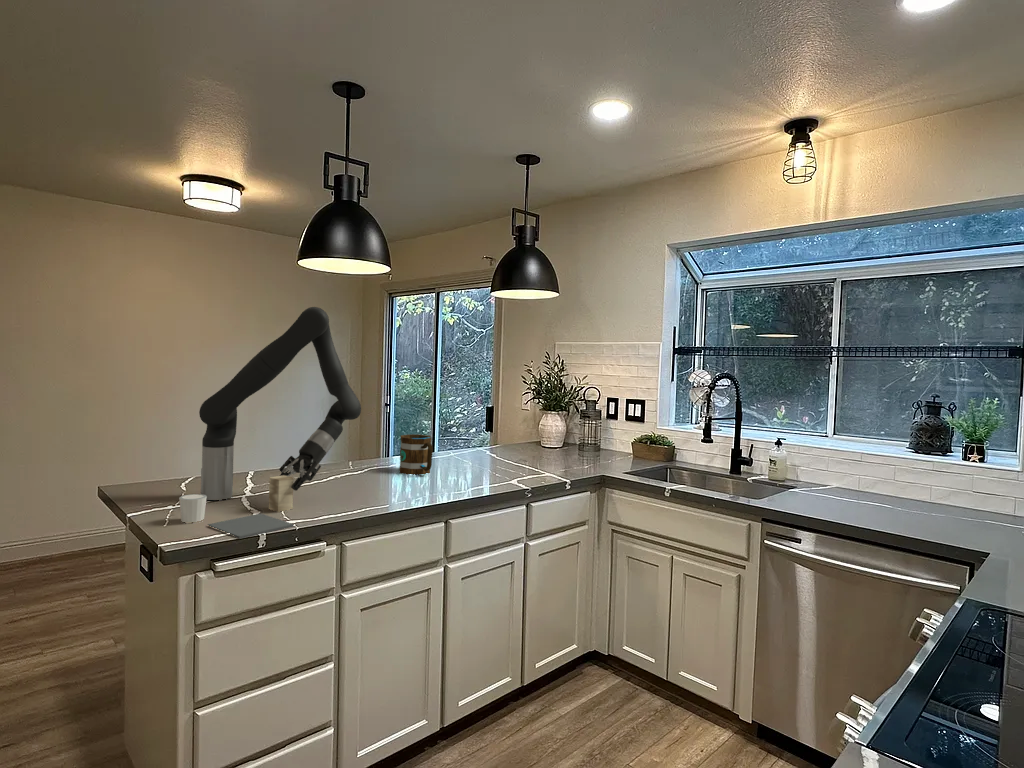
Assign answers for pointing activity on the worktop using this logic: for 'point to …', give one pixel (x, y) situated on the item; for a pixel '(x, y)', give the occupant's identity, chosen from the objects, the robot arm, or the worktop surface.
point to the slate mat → (251, 525)
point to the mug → (415, 454)
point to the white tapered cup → (192, 507)
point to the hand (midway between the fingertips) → (285, 486)
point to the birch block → (280, 493)
